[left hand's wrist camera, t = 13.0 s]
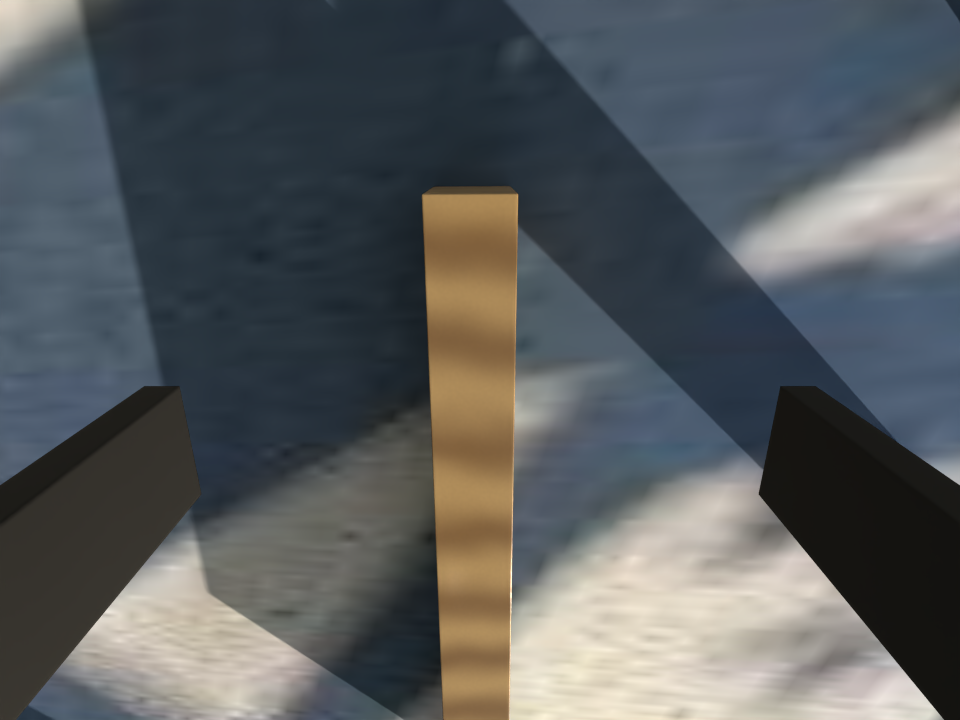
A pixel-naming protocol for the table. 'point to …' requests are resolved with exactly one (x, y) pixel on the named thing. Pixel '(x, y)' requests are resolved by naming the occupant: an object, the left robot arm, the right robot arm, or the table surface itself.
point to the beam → (472, 436)
